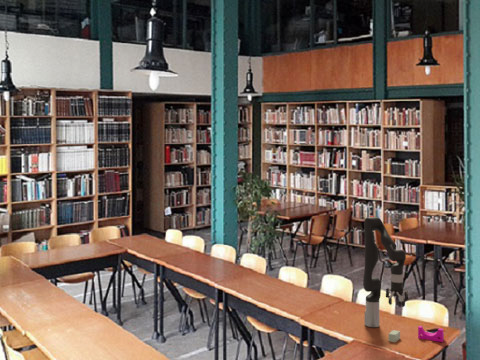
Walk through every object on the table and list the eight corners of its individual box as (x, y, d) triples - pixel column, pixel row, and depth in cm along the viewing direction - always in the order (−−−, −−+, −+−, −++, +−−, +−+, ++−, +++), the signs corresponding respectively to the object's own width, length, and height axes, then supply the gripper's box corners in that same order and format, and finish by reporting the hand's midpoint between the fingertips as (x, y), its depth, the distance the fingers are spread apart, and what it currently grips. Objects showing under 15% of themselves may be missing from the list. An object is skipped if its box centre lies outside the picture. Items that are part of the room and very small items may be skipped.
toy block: (443, 339, 353) (443, 327, 353) (442, 342, 348) (442, 330, 348) (419, 335, 360) (419, 324, 360) (418, 338, 355) (418, 327, 355)
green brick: (388, 341, 350) (388, 333, 349) (393, 337, 357) (393, 330, 357) (395, 342, 347) (395, 334, 347) (400, 338, 354) (400, 331, 354)
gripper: (384, 280, 352) (383, 304, 353) (405, 283, 343) (404, 308, 344) (389, 278, 358) (389, 302, 359) (410, 281, 349) (409, 306, 350)
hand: (396, 305), depth 351 cm, fingers open, 8 cm apart
